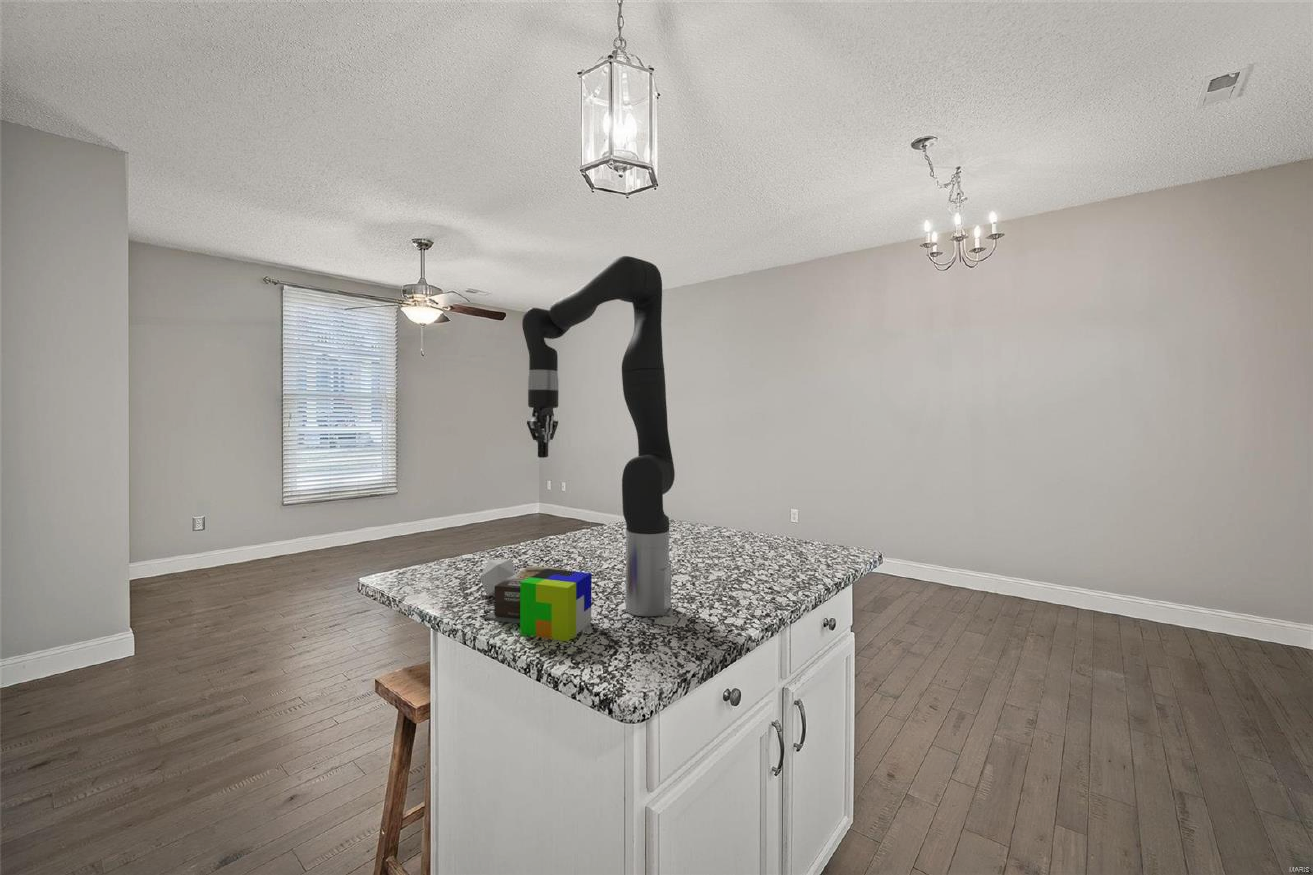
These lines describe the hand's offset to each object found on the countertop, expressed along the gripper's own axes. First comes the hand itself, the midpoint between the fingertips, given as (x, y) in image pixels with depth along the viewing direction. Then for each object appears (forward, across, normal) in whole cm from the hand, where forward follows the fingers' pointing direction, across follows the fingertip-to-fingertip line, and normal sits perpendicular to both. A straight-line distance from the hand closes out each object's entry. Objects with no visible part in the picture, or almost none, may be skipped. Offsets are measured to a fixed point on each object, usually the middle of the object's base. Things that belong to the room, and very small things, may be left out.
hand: (543, 457), depth 137 cm
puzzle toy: (+31, -29, -18) cm, 46 cm away
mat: (+31, -21, -6) cm, 38 cm away
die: (+31, -14, +4) cm, 34 cm away
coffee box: (+27, -12, -7) cm, 31 cm away
